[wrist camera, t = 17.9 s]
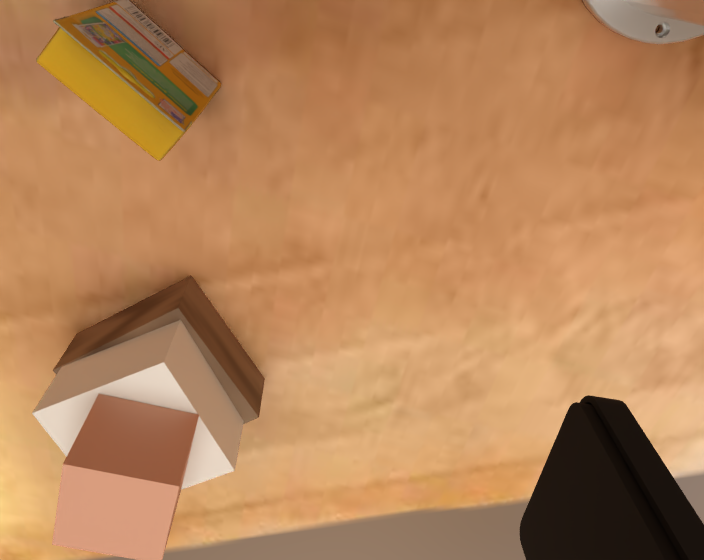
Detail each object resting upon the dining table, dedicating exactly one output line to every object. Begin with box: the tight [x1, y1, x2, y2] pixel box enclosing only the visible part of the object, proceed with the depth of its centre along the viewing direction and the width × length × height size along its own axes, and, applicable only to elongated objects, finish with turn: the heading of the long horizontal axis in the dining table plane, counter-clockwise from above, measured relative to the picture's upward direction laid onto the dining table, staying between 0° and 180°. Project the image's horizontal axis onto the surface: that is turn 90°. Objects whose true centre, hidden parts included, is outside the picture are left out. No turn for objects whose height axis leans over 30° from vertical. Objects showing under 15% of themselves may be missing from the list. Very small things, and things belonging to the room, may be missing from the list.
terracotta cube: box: [52, 394, 199, 560], centre depth 39 cm, size 6×6×6 cm
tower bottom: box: [53, 276, 264, 424], centre depth 48 cm, size 10×10×5 cm
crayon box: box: [36, 0, 221, 161], centre depth 36 cm, size 7×3×12 cm, turn 46°
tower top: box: [32, 320, 244, 489], centre depth 44 cm, size 9×9×5 cm
